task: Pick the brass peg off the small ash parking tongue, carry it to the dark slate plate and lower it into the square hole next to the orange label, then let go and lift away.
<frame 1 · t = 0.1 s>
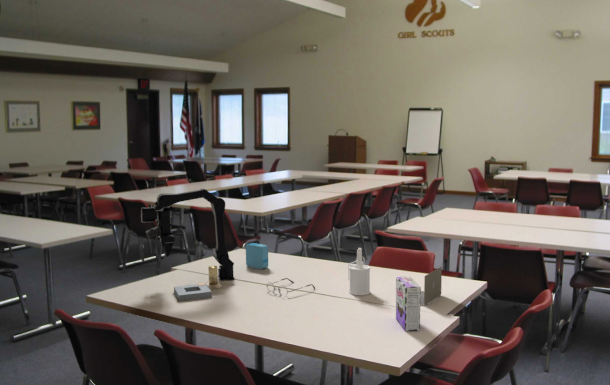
hand: (166, 254, 262), 15 cm above the table, tool pointing down, fingers open, 9 cm apart
parking tongue: (213, 287, 259), on the table
candy box: (407, 325, 208), on the table
laptop: (419, 299, 240), on the table
brass peg: (213, 283, 259), point 1 cm above the table, touching parking tongue
data package: (257, 267, 295), on the table
white squeeze bottle: (358, 292, 249), on the table
eyeglasses: (290, 291, 254), on the table
hole plate: (192, 294, 248), on the table
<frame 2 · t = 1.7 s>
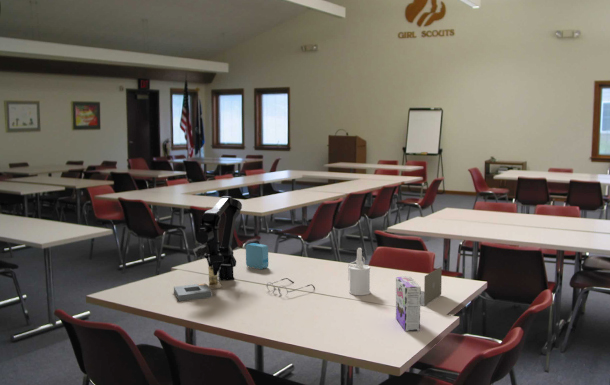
hand: (213, 272, 259), 7 cm above the table, tool pointing down, fingers open, 9 cm apart
nothing on the table moved.
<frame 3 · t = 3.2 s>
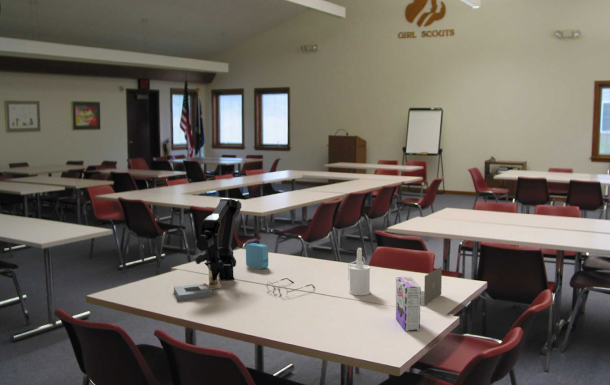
hand: (213, 279, 259), 4 cm above the table, tool pointing down, fingers closed on brass peg, 4 cm apart
brass peg: (213, 283, 259), point 1 cm above the table, touching gripper, parking tongue
everything else where it was.
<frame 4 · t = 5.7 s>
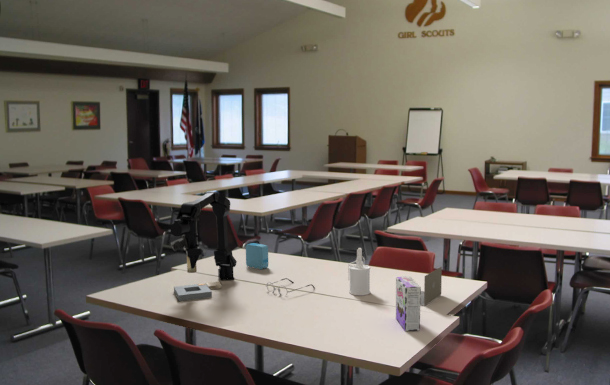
hand: (191, 267, 246), 12 cm above the table, tool pointing down, fingers closed on brass peg, 4 cm apart
brass peg: (191, 271, 247), point 10 cm above the table, touching gripper
everything else where it was.
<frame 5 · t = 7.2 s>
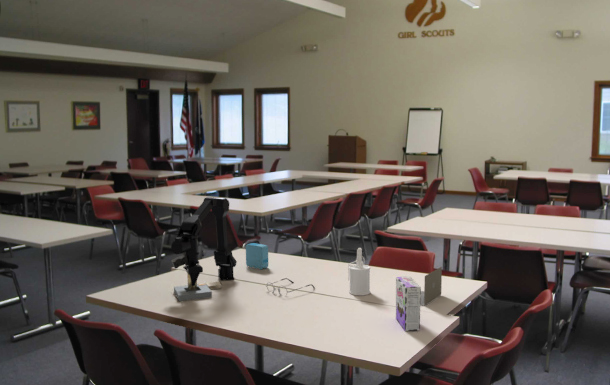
hand: (192, 284, 247), 5 cm above the table, tool pointing down, fingers closed on brass peg, 4 cm apart
brass peg: (192, 288, 248), point 3 cm above the table, touching gripper
everything else where it was.
when the fingers open (4 cm above the table, at t = 8.2 s): brass peg drops 2 cm, resting in hole plate.
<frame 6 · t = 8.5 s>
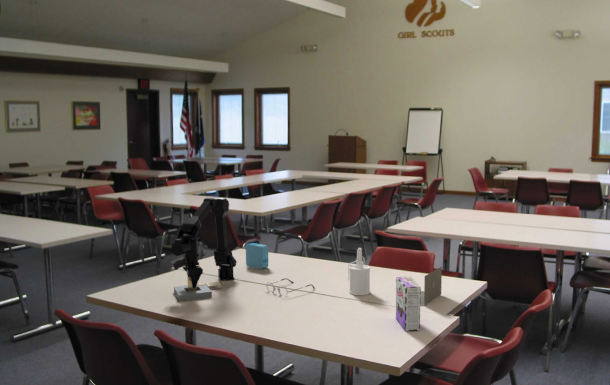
hand: (192, 285, 247), 4 cm above the table, tool pointing down, fingers open, 8 cm apart
brass peg: (192, 294, 248), resting in hole plate
everything else where it was.
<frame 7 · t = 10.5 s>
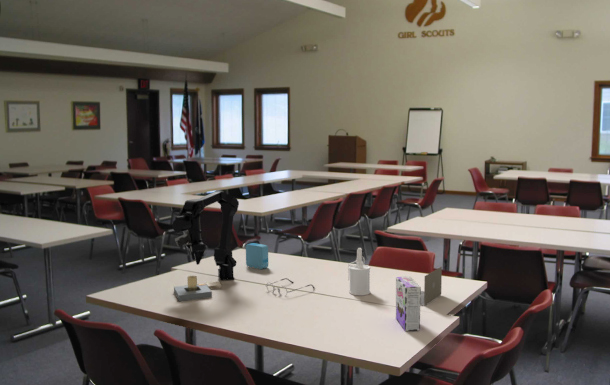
hand: (195, 262, 255), 12 cm above the table, tool pointing down, fingers open, 9 cm apart
nothing on the table moved.
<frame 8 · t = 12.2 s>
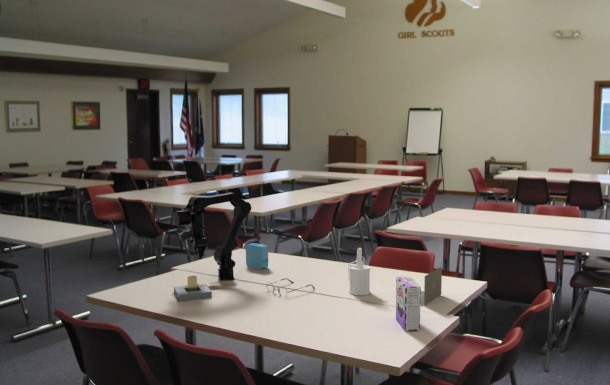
hand: (198, 256, 263), 13 cm above the table, tool pointing down, fingers open, 9 cm apart
nothing on the table moved.
at the end: brass peg 0.0 cm off-centre on the hole plate, point 0.0 cm above the hole plate's base; brass peg tilted 0°; the gripper is holding nothing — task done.
